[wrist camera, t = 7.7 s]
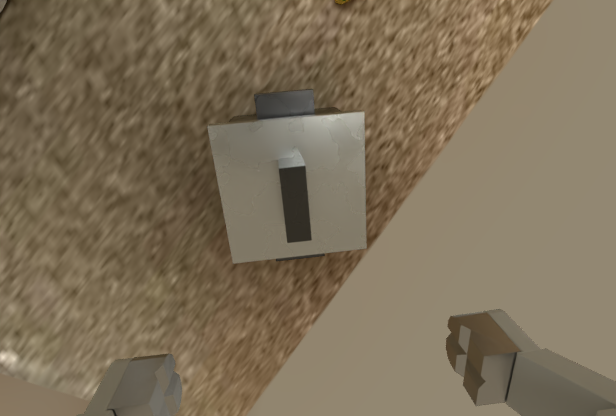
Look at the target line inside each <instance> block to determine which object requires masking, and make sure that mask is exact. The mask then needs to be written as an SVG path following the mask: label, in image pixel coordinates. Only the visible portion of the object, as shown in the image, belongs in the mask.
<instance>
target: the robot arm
mask: <svg viewBox="0 0 616 416" xmlns="http://www.w3.org/2000/svg"><path fill="white" fill-rule="evenodd" d="M6 2H7V0H0V12H1V11H2V9H3V8H4V6H5V4H6ZM448 328H449V329H450V331H451V334H450V335H449V336H448V337H447V338H446V350H447V356H448V359H449V361H450V364H451V365H452V367H453V369H454V371H455V372H456V373H458V374H460V375H461V376H463V377H464V382H463V386H464V387H465V389H466V391H467V392H468V394H469V395H470V397H471V399H472V400H473V402H474V404H475V405H476V406H480V405H488V404H495V403H505V402H506V404H507V405H508V406H509V407H511V408H512V409H513V410H515V411H516V412H517V413H519V414H520V415H521V416H616V381H613V380H611V379H609V378H607V377H605V376H603V375H601V374H599V373H597V372H594V371H592V370H590V369H588V368H586V367H584V366H582V365H580V364H578V363H576V362H573V361H571V360H569V359H567V358H565V357H563V356H561V355H559V354H556V353H554V352H552V351H550V350H548V349H540V348H539V347H538V346H537V345H536V344H535V342H534V341H532V339H531V338H530V337H529V336H528V335H527V334H526V333H525V332H524V331H523V330H522V329H521V328H520V327H519V326H518V325H517V324H516V323H515V322H514V321H513V320H512V319H511V318H510V317H509V316H508V314H507V313H506V312H505V311H503V310H501V309H496V310H489V311H483V312H477V313H469V314H462V315H456V316H451V317H450V318H449V320H448ZM174 367H175V360H174V358H173V355H172V354H161V355H152V356H143V357H134V358H128V359H118V360H115V361H114V362H113V363H111V365H110V367H109V368H108V370H107V372H106V374H105V376H104V378H103V379H102V381H101V383H100V385H99V387H98V389H97V390H96V392H95V394H94V396H93V398H92V400H91V401H90V403H89V405H88V407H87V409H86V411H85V412H84V414H79V415H77V416H174V415H175V414H176V413H177V412H178V411H179V407H180V403H181V395H182V386H181V380H180V376H179V374H177V373H176V372H174V371H173V370H174Z"/></svg>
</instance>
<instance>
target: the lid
mask: <svg viewBox="0 0 616 416" xmlns="http://www.w3.org/2000/svg"><path fill="white" fill-rule="evenodd" d="M207 128H208V133H209V138H210V144H211V149H212V154H213V160H214V165H215V170H216V176H217V181H218V186H219V192H220V197H221V202H222V208H223V213H224V218H225V224H226V229H227V234H228V240H229V245H230V250H231V256H232V261H233V264H234V263H243V262H252V261H261V260H270V259H278V258H287V257H296V256H305V255H314V254H323V253H331V252H340V251H349V250H358V249H366V189H365V128H364V111H362V110H356V111H345V112H334V113H324V114H313V115H302V116H291V117H280V118H269V119H259V120H248V121H237V122H226V123H215V124H209V125H208V126H207Z"/></svg>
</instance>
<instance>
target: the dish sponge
mask: <svg viewBox="0 0 616 416" xmlns="http://www.w3.org/2000/svg"><path fill="white" fill-rule="evenodd" d="M347 1H349V0H335V2H336V3H338V4H340V5H342V4H344V3H345V2H347Z"/></svg>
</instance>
